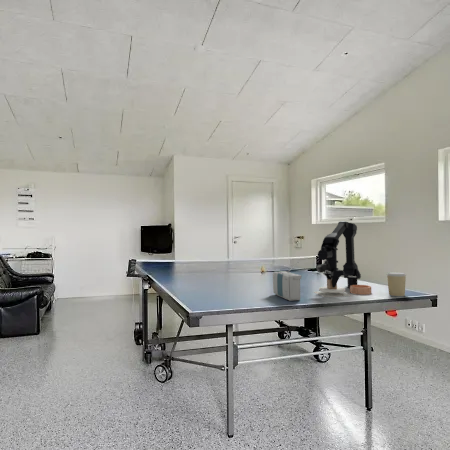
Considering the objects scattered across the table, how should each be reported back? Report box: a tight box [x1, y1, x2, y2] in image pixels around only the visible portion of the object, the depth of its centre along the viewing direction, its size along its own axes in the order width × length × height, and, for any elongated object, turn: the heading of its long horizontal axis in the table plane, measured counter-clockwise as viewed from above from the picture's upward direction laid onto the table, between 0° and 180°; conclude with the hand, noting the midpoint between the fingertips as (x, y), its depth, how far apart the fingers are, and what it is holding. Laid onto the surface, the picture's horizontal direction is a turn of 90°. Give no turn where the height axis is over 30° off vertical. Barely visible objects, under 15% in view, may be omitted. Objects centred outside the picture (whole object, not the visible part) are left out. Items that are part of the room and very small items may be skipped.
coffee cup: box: [386, 271, 407, 298], centre depth 191 cm, size 9×9×12 cm
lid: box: [318, 278, 346, 293], centre depth 195 cm, size 14×14×6 cm
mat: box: [313, 291, 353, 298], centre depth 195 cm, size 16×16×1 cm
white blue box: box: [272, 261, 302, 302], centre depth 189 cm, size 21×8×20 cm, turn 14°
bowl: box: [349, 284, 372, 295], centre depth 197 cm, size 11×11×4 cm
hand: (331, 286), depth 195 cm, fingers closed on lid, 4 cm apart
